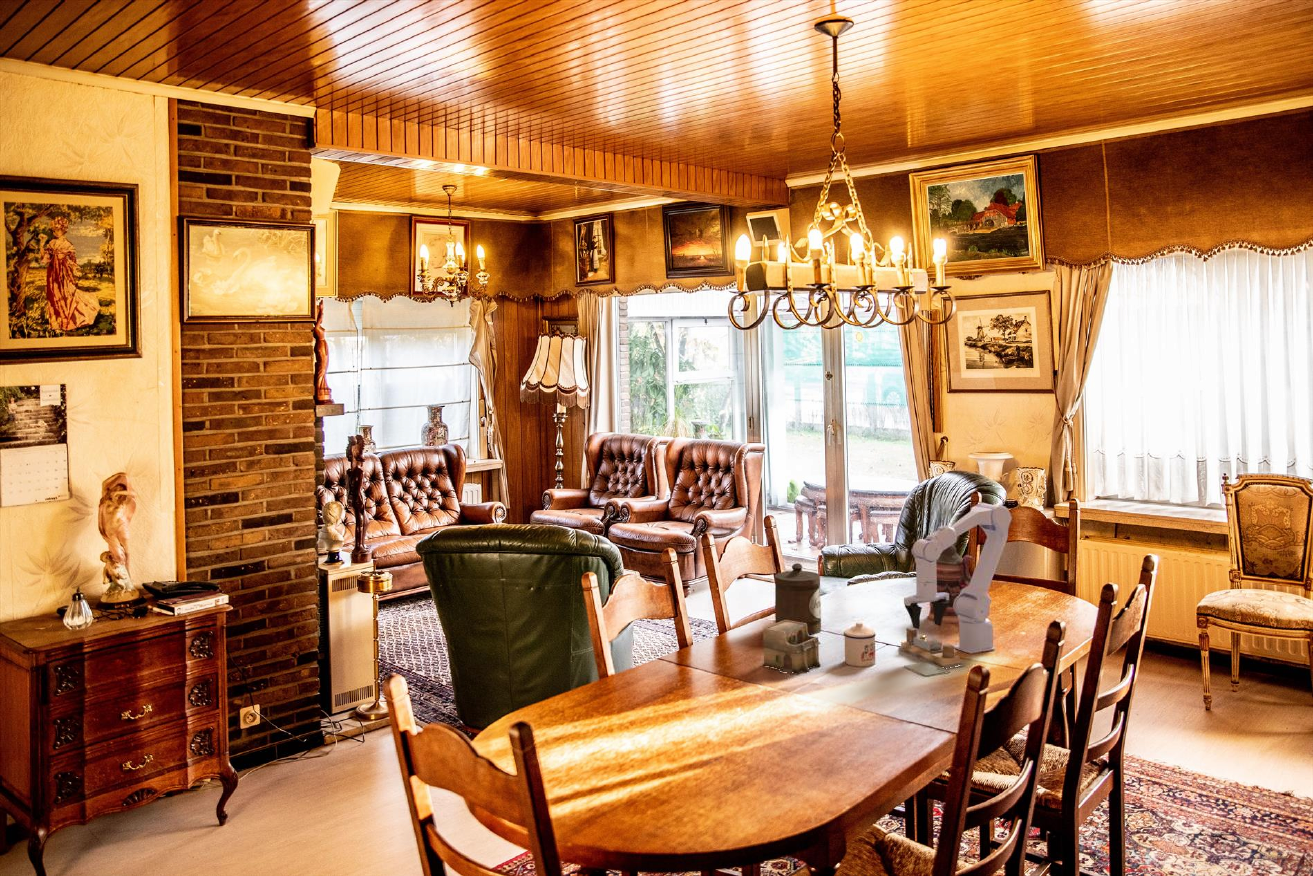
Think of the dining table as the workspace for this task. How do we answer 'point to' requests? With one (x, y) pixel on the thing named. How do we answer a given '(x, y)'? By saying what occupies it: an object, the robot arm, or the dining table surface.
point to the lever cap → (927, 643)
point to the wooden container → (798, 598)
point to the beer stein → (951, 580)
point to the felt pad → (926, 669)
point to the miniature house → (790, 647)
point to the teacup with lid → (859, 646)
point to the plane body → (931, 652)
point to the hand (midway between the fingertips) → (927, 626)
